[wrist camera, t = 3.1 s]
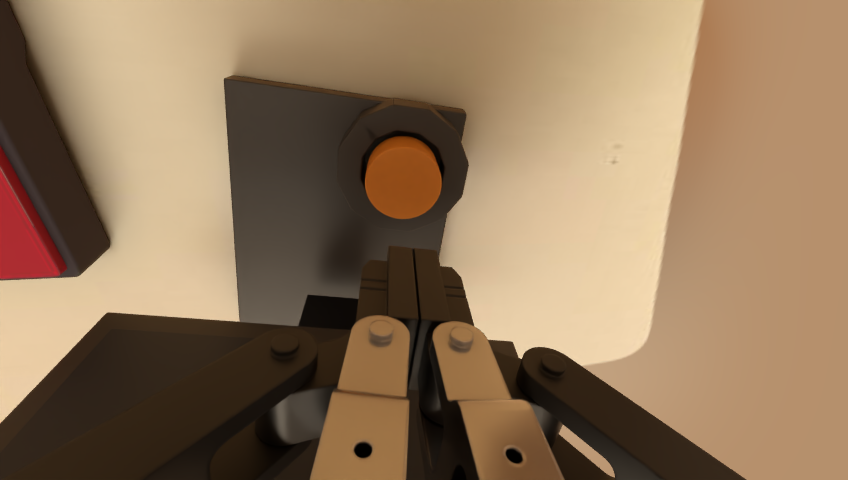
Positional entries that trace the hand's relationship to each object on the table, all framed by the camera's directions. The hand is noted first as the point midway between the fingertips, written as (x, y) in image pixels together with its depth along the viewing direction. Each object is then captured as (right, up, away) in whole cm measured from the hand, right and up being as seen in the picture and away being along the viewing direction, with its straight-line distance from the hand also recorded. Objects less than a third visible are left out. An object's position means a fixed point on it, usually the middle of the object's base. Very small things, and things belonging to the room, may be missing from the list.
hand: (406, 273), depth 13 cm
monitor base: (-4, +2, +12) cm, 13 cm away
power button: (-1, +5, +8) cm, 9 cm away
